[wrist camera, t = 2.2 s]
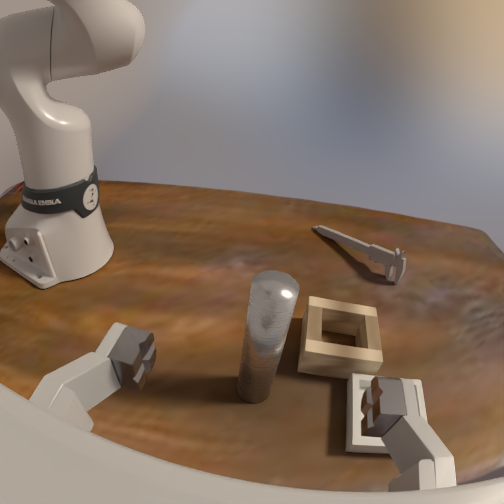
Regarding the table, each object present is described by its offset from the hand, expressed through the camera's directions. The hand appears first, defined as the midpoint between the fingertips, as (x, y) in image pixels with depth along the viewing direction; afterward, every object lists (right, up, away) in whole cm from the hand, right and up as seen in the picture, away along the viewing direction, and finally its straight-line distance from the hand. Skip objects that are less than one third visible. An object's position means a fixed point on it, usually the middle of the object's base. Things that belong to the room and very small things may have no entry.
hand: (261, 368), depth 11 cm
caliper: (+18, +3, +46) cm, 50 cm away
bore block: (+10, -8, +28) cm, 31 cm away
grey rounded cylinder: (0, -11, +22) cm, 24 cm away
